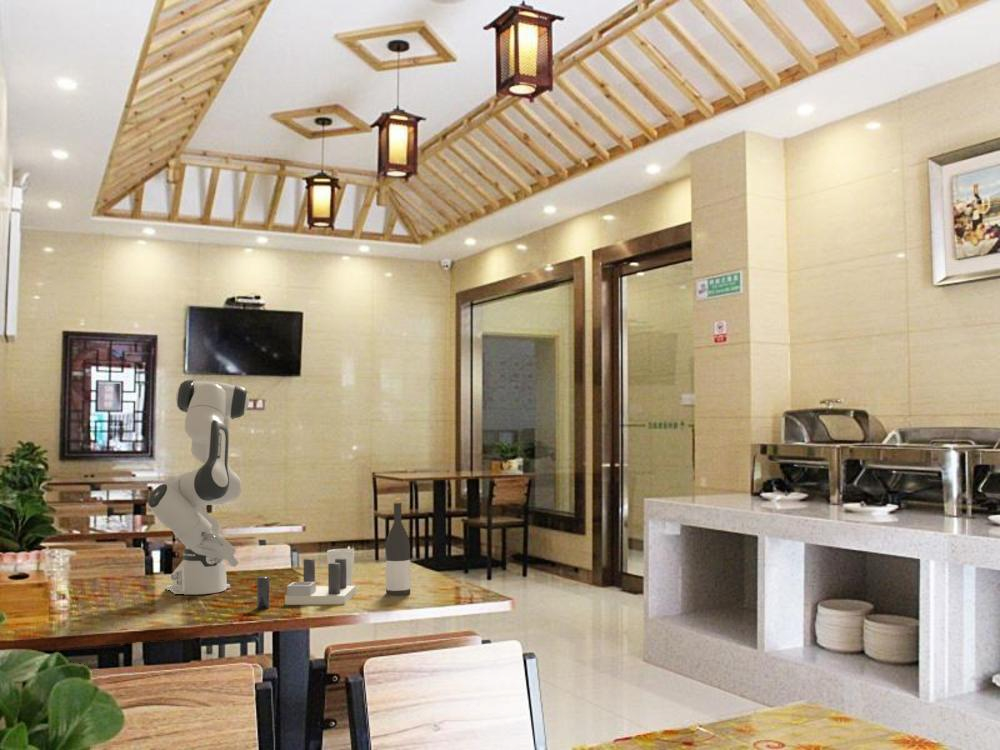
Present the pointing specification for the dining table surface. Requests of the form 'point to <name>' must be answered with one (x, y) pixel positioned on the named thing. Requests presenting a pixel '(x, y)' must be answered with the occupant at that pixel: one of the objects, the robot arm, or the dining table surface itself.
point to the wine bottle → (397, 556)
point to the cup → (349, 557)
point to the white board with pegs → (321, 594)
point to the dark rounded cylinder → (263, 592)
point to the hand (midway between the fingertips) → (227, 563)
